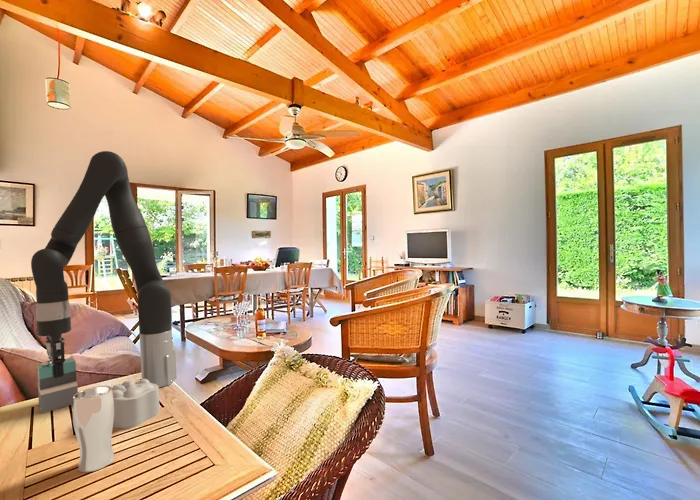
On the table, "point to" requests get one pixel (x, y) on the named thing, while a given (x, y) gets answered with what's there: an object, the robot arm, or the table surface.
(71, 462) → the table surface
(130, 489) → the table surface
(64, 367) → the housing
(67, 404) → the stand
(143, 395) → the lumpy-topped squat cylinder
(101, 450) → the beer glass
